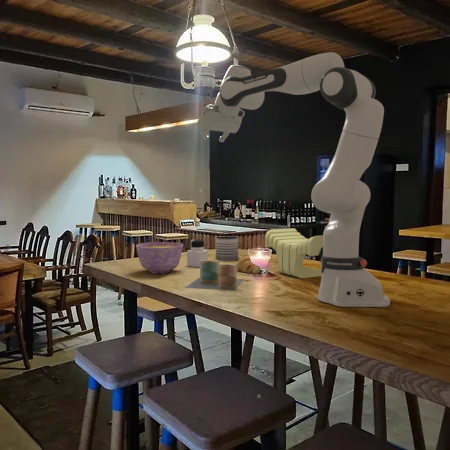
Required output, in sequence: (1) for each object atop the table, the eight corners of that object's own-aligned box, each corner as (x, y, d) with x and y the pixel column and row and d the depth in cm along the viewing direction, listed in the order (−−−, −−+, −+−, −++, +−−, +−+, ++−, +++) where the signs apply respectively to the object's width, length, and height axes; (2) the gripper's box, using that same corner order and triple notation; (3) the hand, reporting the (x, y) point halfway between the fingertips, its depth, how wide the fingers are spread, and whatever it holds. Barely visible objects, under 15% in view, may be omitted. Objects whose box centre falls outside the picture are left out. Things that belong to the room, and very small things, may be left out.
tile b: (236, 286, 165) (236, 264, 165) (235, 287, 164) (235, 265, 163) (220, 285, 167) (220, 263, 166) (218, 286, 165) (218, 264, 164)
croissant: (263, 283, 193) (272, 265, 193) (244, 273, 189) (252, 255, 190) (244, 273, 212) (252, 257, 213) (226, 264, 209) (234, 248, 210)
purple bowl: (129, 270, 202) (129, 243, 201) (172, 266, 212) (172, 241, 211) (145, 278, 185) (145, 249, 184) (191, 273, 195) (191, 246, 194)
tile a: (219, 281, 174) (219, 260, 173) (218, 282, 172) (218, 261, 172) (201, 280, 176) (201, 259, 175) (200, 281, 174) (200, 260, 173)
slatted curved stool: (264, 270, 202) (265, 229, 201) (293, 267, 210) (294, 228, 209) (309, 282, 176) (310, 236, 175) (340, 278, 184) (341, 234, 182)
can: (212, 260, 230) (212, 236, 229) (219, 257, 241) (219, 233, 240) (234, 261, 227) (234, 237, 226) (241, 258, 238) (241, 234, 237)
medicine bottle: (208, 265, 216) (208, 239, 215) (199, 267, 210) (199, 241, 209) (195, 263, 219) (195, 238, 218) (186, 265, 213) (186, 239, 212)
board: (244, 282, 177) (244, 280, 177) (234, 292, 160) (234, 290, 160) (198, 279, 181) (198, 277, 181) (184, 289, 164) (184, 287, 164)
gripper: (212, 107, 168) (199, 142, 173) (247, 113, 183) (234, 145, 188) (201, 100, 171) (188, 135, 176) (237, 107, 186) (224, 139, 192)
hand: (212, 140), depth 183 cm, fingers open, 8 cm apart
